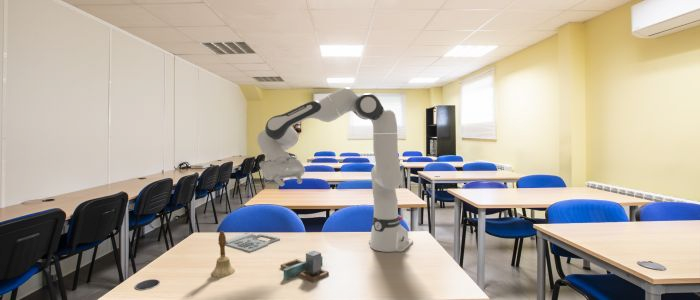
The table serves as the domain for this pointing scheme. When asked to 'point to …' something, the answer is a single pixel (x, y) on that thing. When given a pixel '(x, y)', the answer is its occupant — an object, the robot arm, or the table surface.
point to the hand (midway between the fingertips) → (291, 184)
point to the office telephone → (249, 241)
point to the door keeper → (300, 270)
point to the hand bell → (222, 260)
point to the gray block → (313, 263)
